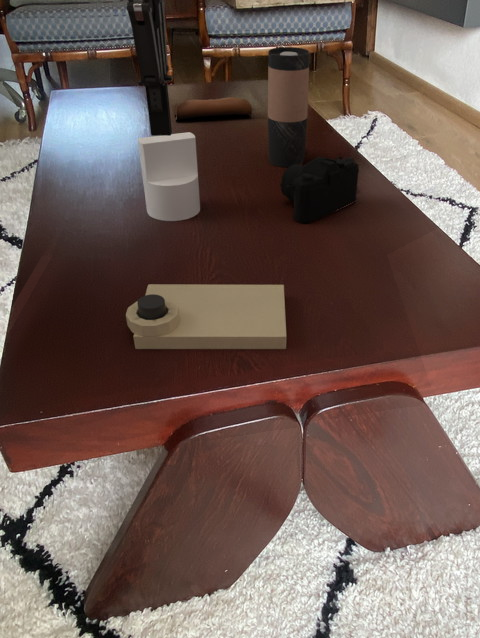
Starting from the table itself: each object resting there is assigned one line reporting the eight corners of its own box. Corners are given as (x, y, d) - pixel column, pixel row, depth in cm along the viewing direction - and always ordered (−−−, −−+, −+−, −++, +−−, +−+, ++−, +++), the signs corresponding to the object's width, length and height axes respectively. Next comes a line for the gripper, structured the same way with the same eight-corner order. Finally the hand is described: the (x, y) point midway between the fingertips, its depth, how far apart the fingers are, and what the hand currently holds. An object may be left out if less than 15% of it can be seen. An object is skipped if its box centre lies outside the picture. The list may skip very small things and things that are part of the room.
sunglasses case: (244, 106, 151) (247, 85, 144) (250, 129, 148) (253, 108, 142) (172, 110, 147) (171, 89, 141) (176, 133, 145) (176, 112, 138)
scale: (126, 349, 72) (122, 325, 70) (142, 296, 82) (138, 273, 80) (286, 349, 73) (286, 325, 71) (283, 296, 82) (284, 274, 80)
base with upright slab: (154, 224, 99) (146, 150, 91) (141, 203, 105) (131, 132, 98) (207, 215, 102) (202, 143, 94) (191, 196, 108) (185, 126, 101)
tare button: (137, 321, 72) (135, 308, 71) (141, 306, 74) (139, 294, 73) (164, 321, 72) (162, 308, 71) (167, 306, 74) (166, 294, 73)
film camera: (322, 186, 113) (325, 137, 107) (362, 202, 107) (368, 151, 102) (262, 209, 104) (262, 157, 99) (303, 227, 99) (305, 173, 93)
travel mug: (312, 159, 124) (317, 50, 111) (292, 170, 119) (296, 57, 106) (280, 152, 127) (282, 45, 115) (260, 162, 122) (259, 52, 109)
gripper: (162, -71, 65) (182, 150, 80) (178, -77, 76) (193, 120, 90) (92, -72, 65) (125, 149, 80) (118, -78, 76) (143, 119, 90)
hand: (161, 133), depth 85 cm, fingers closed
